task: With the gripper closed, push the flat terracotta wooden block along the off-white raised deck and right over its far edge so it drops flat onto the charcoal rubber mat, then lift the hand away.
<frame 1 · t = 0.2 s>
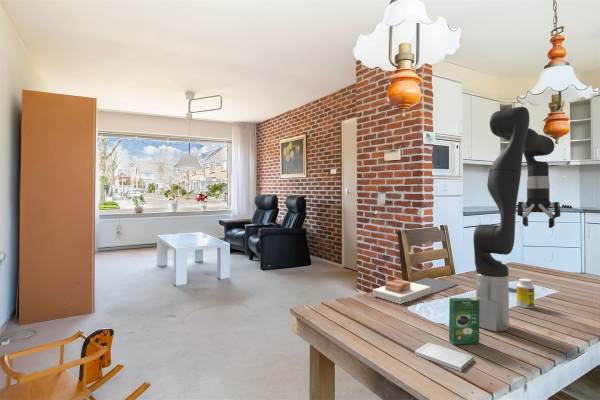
hand: (538, 227, 136), 29 cm above the table, tool pointing down, fingers open, 8 cm apart
coffee box: (464, 343, 98), on the table
mat: (430, 285, 157), on the table
hard drive: (443, 360, 89), on the table
terracotta block: (397, 289, 142), point 3 cm above the table, touching deck
supplement bottle: (495, 287, 153), on the table
supplement bottle 2: (525, 306, 127), on the table
deck: (402, 295, 144), on the table
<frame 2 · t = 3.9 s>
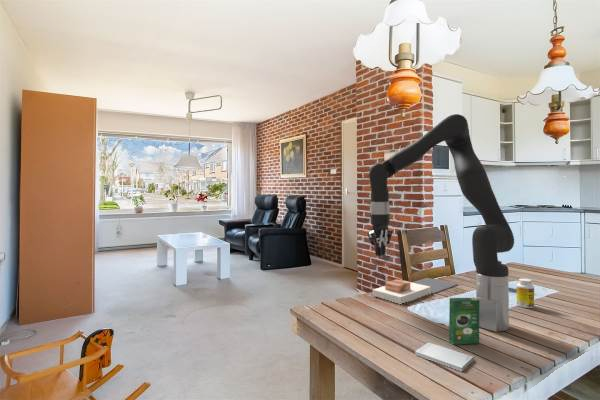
hand: (380, 255, 135), 19 cm above the table, tool pointing down, fingers closed
nothing on the table moved.
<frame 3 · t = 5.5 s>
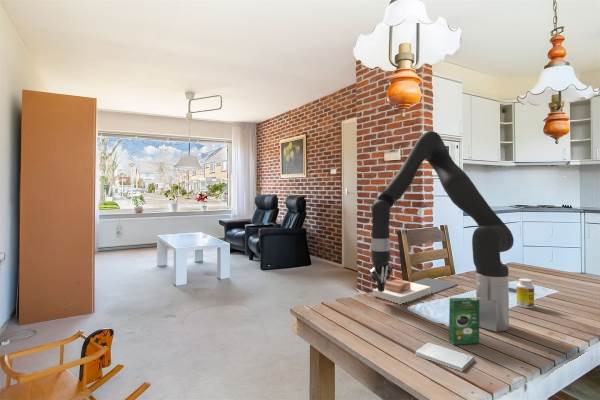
hand: (381, 291, 135), 4 cm above the table, tool pointing down, fingers closed
nothing on the table moved.
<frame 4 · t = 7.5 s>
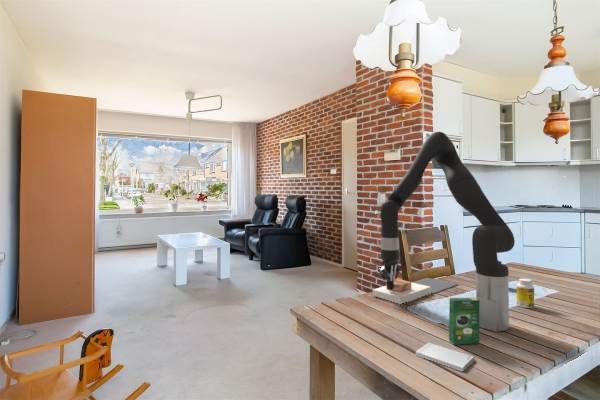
hand: (390, 289, 139), 4 cm above the table, tool pointing down, fingers closed
terracotta block: (398, 289, 142), point 3 cm above the table, touching deck, gripper
everything else where it was.
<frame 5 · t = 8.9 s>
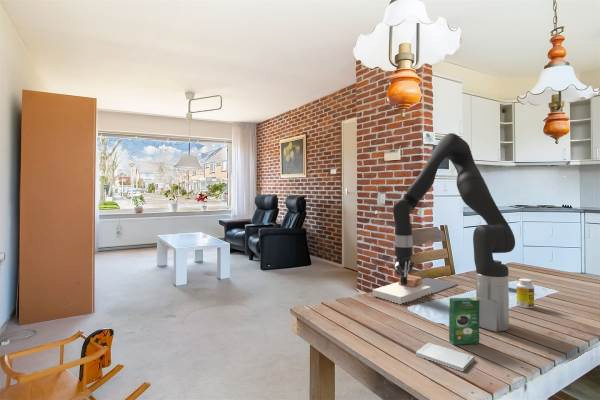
hand: (403, 284, 145), 4 cm above the table, tool pointing down, fingers closed
terracotta block: (410, 284, 149), point 3 cm above the table, touching gripper
everything else where it was.
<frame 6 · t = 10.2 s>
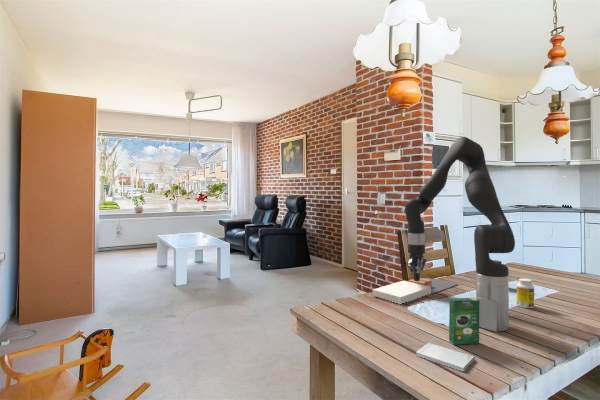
hand: (416, 280, 151), 4 cm above the table, tool pointing down, fingers closed
terracotta block: (420, 286, 154), resting on mat
everything else where it was.
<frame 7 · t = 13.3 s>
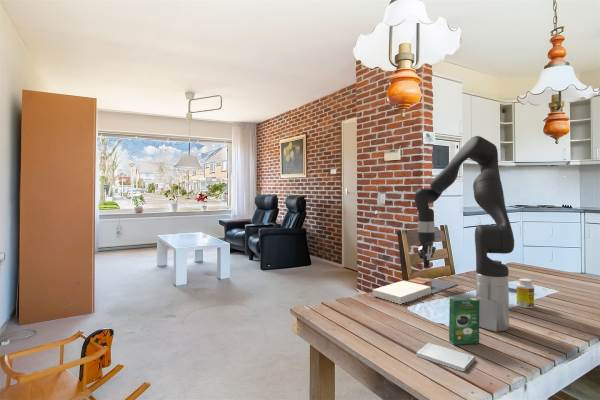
hand: (426, 267, 156), 9 cm above the table, tool pointing down, fingers closed
nothing on the table moved.
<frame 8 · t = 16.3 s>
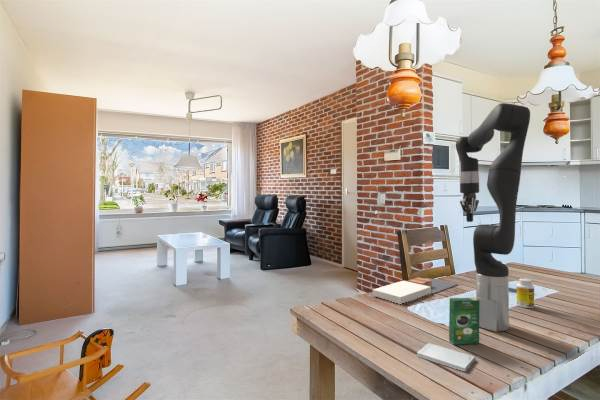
hand: (469, 221, 146), 31 cm above the table, tool pointing down, fingers closed
nothing on the table moved.
at the end: terracotta block inside the target area (6.9 cm from its centre), resting on mat; terracotta block moved 18.9 cm from its start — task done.
